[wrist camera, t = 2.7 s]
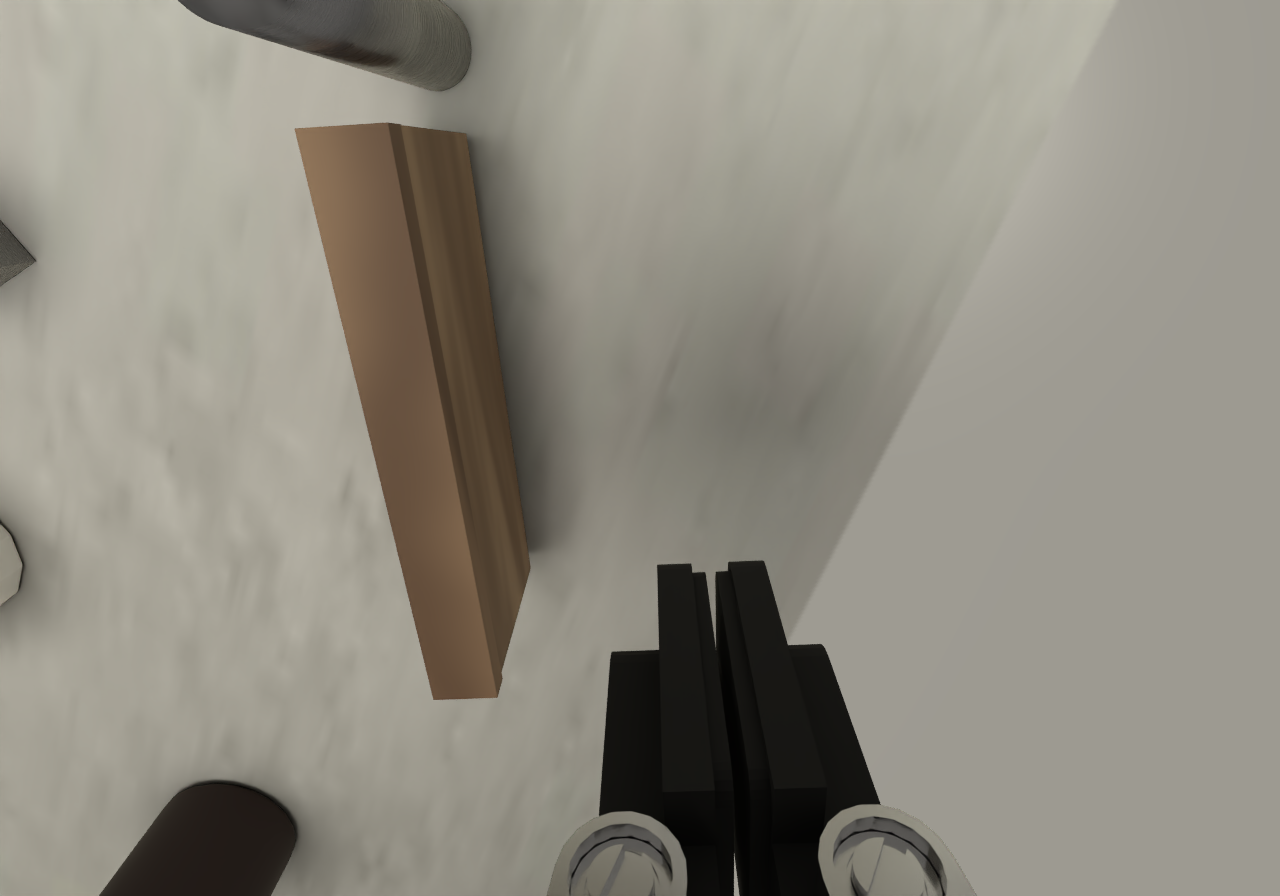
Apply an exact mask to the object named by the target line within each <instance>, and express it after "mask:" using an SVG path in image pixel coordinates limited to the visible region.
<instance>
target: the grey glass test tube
mask: <svg viewBox="0 0 1280 896" xmlns="http://www.w3.org/2000/svg"><path fill="white" fill-rule="evenodd" d="M178 1H179V2H180V3H181V4H183V5H184V6H185V7H186V8H187V9H189V10H190V11H191V12H193V13H194V14H196V15H197V16H199V17H201V18H203V19H204V20H206V21H209V22H211V23H214V24H216V25H219V26H222V27H226V28H229V29H232V30H235V31H239V32H242V33H245V34H248V35H252V36H255V37H258V38H261V39H265V40H268V41H271V42H274V43H278V44H281V45H284V46H287V47H291V48H294V49H297V50H300V51H304V52H307V53H310V54H313V55H317V56H320V57H323V58H326V59H330V60H333V61H336V62H339V63H343V64H346V65H349V66H352V67H355V68H359V69H362V70H365V71H368V72H372V73H375V74H378V75H381V76H385V77H388V78H391V79H394V80H398V81H401V82H404V83H407V84H411V85H414V86H417V87H420V88H424V89H427V90H431V91H442V90H446V89H449V88H451V87H453V86H455V85H456V84H457V83H459V82H460V81H461V79H462V78H463V77H464V75H465V74H466V72H467V70H468V67H469V64H470V59H471V44H470V39H469V35H468V32H467V30H466V28H465V25H464V24H463V22H462V21H461V19H460V18H459V17H458V15H457V14H456V13H455V12H454V11H453V10H451V9H450V8H449V7H447V6H446V5H445V4H443V3H442V2H441V1H440V0H178Z"/></svg>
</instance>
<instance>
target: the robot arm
mask: <svg viewBox="0 0 1280 896" xmlns="http://www.w3.org/2000/svg"><path fill="white" fill-rule="evenodd" d="M657 573H658V617H659V650H647V651H620V652H612V653H611V659H610V671H609V685H608V698H607V712H606V726H605V740H604V753H603V767H602V781H601V795H600V808H599V817H596V818H593V819H592V820H590V821H589V822H587V823H586V824H584V825H583V826H582V827H580V828H579V829H577V830H576V831H575V833H574V834H573V835H572V836H571V837H570V839H569V840H568V841H567V842H566V843H565V845H564V846H563V848H562V850H561V853H560V855H559V857H558V860H557V862H556V864H555V867H554V871H553V875H552V878H551V882H550V885H549V889H548V893H547V896H734V854H735V862H736V870H737V878H738V887H739V895H740V896H977V895H976V893H975V892H974V890H973V888H972V887H971V885H970V883H969V882H968V880H967V878H966V876H965V875H964V873H963V871H962V869H961V868H960V866H959V864H958V863H957V861H956V859H955V858H954V856H953V854H952V853H951V852H950V850H949V849H948V848H947V846H946V845H945V844H944V842H943V841H942V840H941V838H940V837H939V836H938V835H937V834H936V833H935V832H933V831H932V830H931V829H930V828H929V827H927V826H926V825H925V824H924V823H923V822H921V821H920V820H919V819H917V818H914V817H913V816H911V815H909V814H907V813H905V812H903V811H901V810H899V809H895V808H891V807H887V806H883V805H881V804H880V801H879V799H878V796H877V793H876V790H875V787H874V785H873V782H872V779H871V776H870V773H869V770H868V768H867V765H866V762H865V759H864V756H863V753H862V751H861V748H860V745H859V742H858V739H857V736H856V734H855V731H854V728H853V725H852V722H851V719H850V716H849V713H848V711H847V708H846V705H845V702H844V699H843V697H842V694H841V691H840V688H839V685H838V682H837V680H836V677H835V674H834V671H833V668H832V665H831V663H830V660H829V657H828V654H827V652H826V650H825V648H824V646H823V645H822V644H810V645H788V644H787V641H786V637H785V633H784V630H783V626H782V623H781V619H780V616H779V612H778V608H777V605H776V601H775V598H774V594H773V590H772V587H771V583H770V580H769V576H768V573H767V569H766V565H765V563H764V561H739V562H729V563H728V571H721V572H716V577H715V582H716V647H715V640H714V632H713V625H712V617H711V610H710V603H709V595H708V588H707V580H706V574H705V572H697V573H692V566H691V564H667V565H657Z"/></svg>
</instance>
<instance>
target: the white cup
mask: <svg viewBox="0 0 1280 896" xmlns="http://www.w3.org/2000/svg"><path fill="white" fill-rule="evenodd" d="M21 572H22V562H21V559H20V557H19V554H18V552H17V549H16V547H15V544H14V542H13V539H12V537H11V535H10V534H9V532H8V531H7V530H6V529H5V528H4V527H3V526H2V525H1V524H0V606H1V605H2V604H4V603H5V602H6V601H7V600H8V599H9V598H11V597H12V596H13V595H14V594H15V593H17V591H18V588H19V583H20V577H21Z"/></svg>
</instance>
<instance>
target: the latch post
mask: <svg viewBox="0 0 1280 896" xmlns="http://www.w3.org/2000/svg"><path fill="white" fill-rule="evenodd" d="M34 262H35V260H34V259H33V258H32V257H31V255H30V254H29V253H28V252H27V251H26V250H25V249H24V247H23V246H22V245H21V244H20V243H19V242H18V241H17V240H16V238H15V237H14V236H13V235H12V234H11V233H10V232H9V230H8V229H7V228H6V227H5V226H4V225H3V224H2V222H1V221H0V286H1V285H2V284H4V283H5V282H7V281H8V280H9V279H11V278H12V277H14V276H15V275H17V274H18V273H20V272H21V271H22V270H24V269H25V268H27V267H28V266H30V265H31V264H32V263H34Z"/></svg>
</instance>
